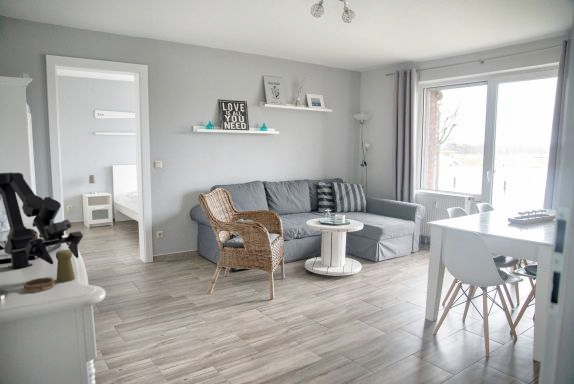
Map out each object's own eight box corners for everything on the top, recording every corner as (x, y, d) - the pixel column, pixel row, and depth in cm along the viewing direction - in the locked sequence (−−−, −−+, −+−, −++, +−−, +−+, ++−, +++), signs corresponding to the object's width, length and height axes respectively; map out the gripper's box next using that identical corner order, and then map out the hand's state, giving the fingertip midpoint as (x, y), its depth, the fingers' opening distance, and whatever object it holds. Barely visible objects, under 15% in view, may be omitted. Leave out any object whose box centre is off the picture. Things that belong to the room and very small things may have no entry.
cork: (66, 282, 144) (64, 252, 143) (52, 281, 146) (50, 252, 144) (78, 277, 150) (76, 248, 149) (64, 276, 152) (62, 247, 150)
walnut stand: (18, 289, 138) (18, 284, 138) (44, 282, 145) (44, 276, 145) (33, 293, 134) (33, 288, 133) (59, 285, 141) (59, 280, 141)
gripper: (26, 217, 140) (45, 252, 135) (78, 210, 156) (97, 241, 151) (17, 237, 145) (35, 272, 140) (68, 228, 161) (86, 259, 156)
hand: (65, 260), depth 147 cm, fingers open, 9 cm apart
